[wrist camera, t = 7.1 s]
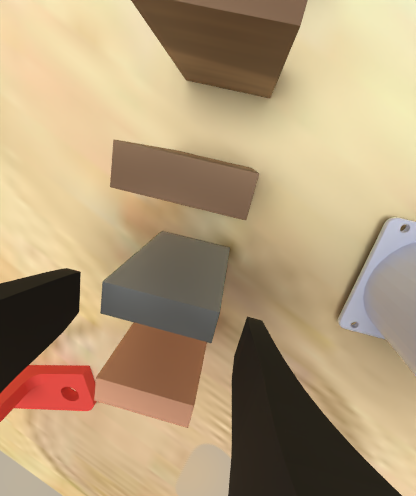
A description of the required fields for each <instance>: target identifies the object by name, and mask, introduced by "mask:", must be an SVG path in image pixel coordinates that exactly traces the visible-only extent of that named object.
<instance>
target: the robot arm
mask: <svg viewBox="0 0 416 496" xmlns="http://www.w3.org/2000/svg"><path fill="white" fill-rule="evenodd" d="M404 224H406V228H405V229H404V230H403V231H400V227H401V226H402V225H404ZM80 273H81V272H79V271H75V270H72V269H68V268H66V269H59V270H55V271H50V272H46V273H42V274H38V275H34V276H29V277H25V278H21V279H17V280H13V281H9V282H5V283H0V393H1V392H2V391H3V390H4V389H5V388H6V387H7V386H8V385H9V384H10V383H11V382H12V381H13V380H14V379H15V378H16V377H17V376H18V375H19V374H20V373H21V372H22V371H23V370H24V369H25V368H26V367H27V366H28V365H29V364H30V363H31V362H32V361H33V360H34V359H36V358H37V357H38V356H39V355H40V354H41V353H42V352H43V351H44V350H45V349H46V348H47V347H48V346H49V345H50V344H51V343H52V342H53V341H54V340H55V339H56V338H57V337H58V336H59V335H60V334H61V333H62V332H63V331H64V330H65V329H66V328H67V327H68V325H69V324H70V323H71V322H72V320H73V319H74V318H75V317H76V315H77V314H78V313H79V300H80ZM352 322H356V323H355V324H353V325H351V323H352ZM338 323H339V325H340V326H341V327H342V328H344V329H348V330H352V331H355V332H359V333H363V334H367V335H370V336H374V337H378V338H382V339H386V340H387V341H388V343H389V344H390V345H391V346H392V348H393V349H394V350H395V351H396V353H397V354H398V355H399V356H400V358H401V359H402V360H403V361H404V362H405V364H406V365H407V366H408V367H409V369H410V370H411V371H412V372H413V374H414V375H415V376H416V221H411V220H407V219H403V218H399V217H392V218H389V219H388V220H387V221H386V222H385V223H384V225H383V227H382V230H381V232H380V234H379V236H378V238H377V240H376V242H375V244H374V246H373V248H372V250H371V252H370V254H369V256H368V258H367V260H366V262H365V264H364V266H363V268H362V271H361V273H360V275H359V277H358V279H357V281H356V283H355V285H354V287H353V289H352V291H351V293H350V295H349V297H348V299H347V301H346V303H345V305H344V307H343V309H342V311H341V314H340V316H339V318H338ZM228 496H402V495H401V494H400V493H399V492H398V491H397V490H395V489H394V488H393V487H392V486H391V485H390V484H389V483H388V482H387V481H386V480H385V479H384V478H383V477H382V476H381V475H380V474H379V473H378V472H377V471H376V470H375V469H374V468H373V467H372V466H371V465H370V464H369V463H368V462H367V461H366V460H365V459H364V458H363V457H362V456H361V455H360V454H359V453H358V452H357V451H356V450H355V448H354V447H353V446H352V445H351V444H350V443H349V442H348V441H347V440H346V439H345V438H344V436H343V435H342V434H341V433H340V432H339V431H338V430H337V429H336V428H335V426H334V425H333V424H332V423H331V422H330V421H329V420H328V418H327V417H326V416H325V415H324V414H323V412H322V411H321V410H320V409H319V407H318V406H317V405H316V404H315V402H314V401H313V400H312V399H311V397H310V396H309V395H308V393H307V392H306V391H305V389H304V388H303V387H302V385H301V384H300V382H299V381H298V380H297V378H296V377H295V375H294V374H293V372H292V371H291V369H290V368H289V366H288V365H287V363H286V362H285V360H284V358H283V357H282V355H281V353H280V352H279V350H278V348H277V347H276V345H275V343H274V341H273V339H272V338H271V336H270V334H269V332H268V330H267V329H266V327H265V325H264V323H263V322H262V321H261V320H258V319H254V318H250V317H247V319H246V322H245V325H244V328H243V331H242V334H241V337H240V340H239V343H238V346H237V349H236V352H235V356H234V364H233V373H232V456H231V470H230V483H229V494H228Z"/></svg>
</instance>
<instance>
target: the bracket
mask: <svg viewBox="0 0 416 496" xmlns="http://www.w3.org/2000/svg"><path fill="white" fill-rule="evenodd" d="M70 387H71V388H73V389H75V390H76V391H77V392H76V391H74V390H72V389H71V388H70ZM94 397H95V381H94V378H93V375H92V372H91V369H90V366H63V365H28V366H27V367H26V368H25V369H24V370H23V371H22V372H21V373H20V374H19V375H18V376H17V377H16V378H15V379H14V380H13V381H12V382H11V383H10V384H9V385H8V386H7V387H6V388H5V389H4V390H3V391H2V392H1V393H0V422H1V421H2V420H3V419H4V418H5V417H6V416H7V415H8V413H9V412H10V411H11V410H12V409H13V408H22V409H48V410H73V411H89V410H91V409H92V408H93V407H94V405H95V403H96V402H97V401H95V400H94Z"/></svg>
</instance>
